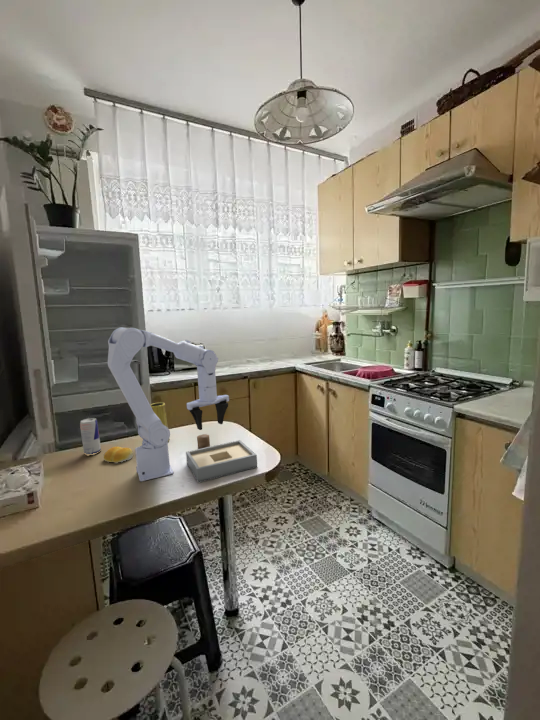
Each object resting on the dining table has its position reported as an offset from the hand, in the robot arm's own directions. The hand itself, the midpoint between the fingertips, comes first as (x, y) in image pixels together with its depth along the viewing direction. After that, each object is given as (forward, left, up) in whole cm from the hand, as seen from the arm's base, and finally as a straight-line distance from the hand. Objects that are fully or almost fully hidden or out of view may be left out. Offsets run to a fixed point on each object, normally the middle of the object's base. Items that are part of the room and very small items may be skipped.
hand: (210, 426), depth 118 cm
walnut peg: (-2, +1, -9) cm, 10 cm away
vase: (-13, +21, -10) cm, 27 cm away
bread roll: (-28, +13, -10) cm, 33 cm away
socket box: (0, -11, -9) cm, 14 cm away
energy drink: (-36, +23, -10) cm, 44 cm away
